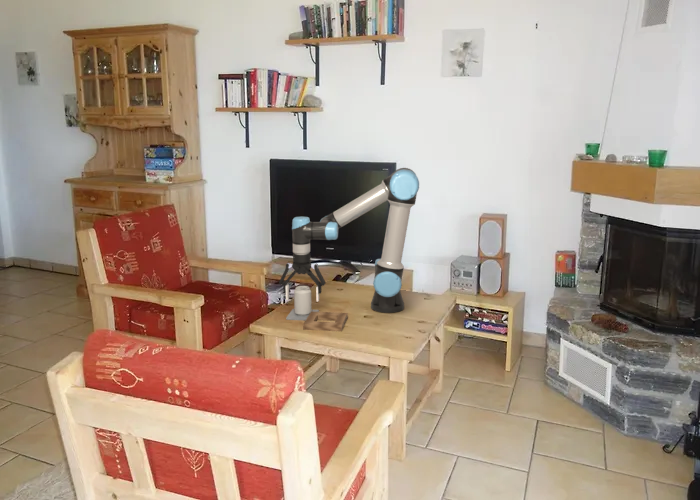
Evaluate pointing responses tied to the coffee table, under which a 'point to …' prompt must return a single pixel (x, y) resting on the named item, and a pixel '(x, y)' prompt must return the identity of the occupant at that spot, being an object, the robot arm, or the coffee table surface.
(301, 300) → the can
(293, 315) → the plate
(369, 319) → the coffee table surface
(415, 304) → the coffee table surface
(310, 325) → the pocket block
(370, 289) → the coffee table surface
